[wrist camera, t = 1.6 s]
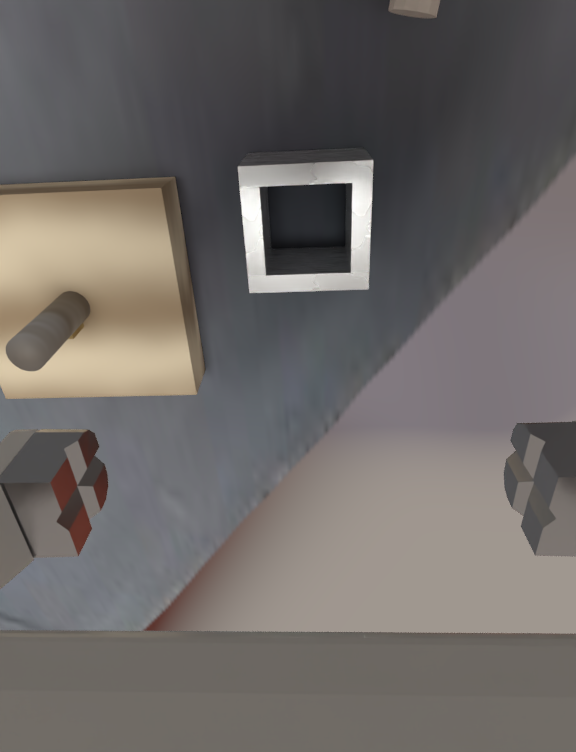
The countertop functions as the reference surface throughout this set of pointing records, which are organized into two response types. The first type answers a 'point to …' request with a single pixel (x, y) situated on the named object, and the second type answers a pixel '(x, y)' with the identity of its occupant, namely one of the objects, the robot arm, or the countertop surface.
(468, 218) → the countertop surface
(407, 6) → the pipe connector
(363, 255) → the silver square ring
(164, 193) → the shaft stand
